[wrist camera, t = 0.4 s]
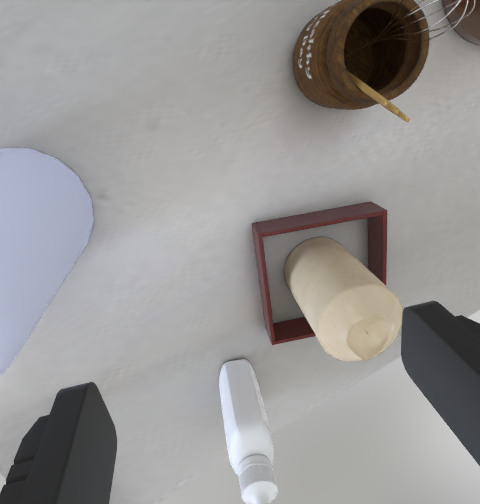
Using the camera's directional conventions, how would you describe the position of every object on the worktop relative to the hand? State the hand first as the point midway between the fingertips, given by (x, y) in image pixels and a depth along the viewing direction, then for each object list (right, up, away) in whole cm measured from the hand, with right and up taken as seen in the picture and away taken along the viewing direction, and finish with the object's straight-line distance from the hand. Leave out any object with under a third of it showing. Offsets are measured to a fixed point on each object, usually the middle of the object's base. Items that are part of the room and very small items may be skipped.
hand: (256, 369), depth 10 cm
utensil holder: (+6, +16, +16) cm, 23 cm away
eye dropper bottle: (-1, -9, +25) cm, 27 cm away
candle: (+6, +2, +22) cm, 22 cm away
